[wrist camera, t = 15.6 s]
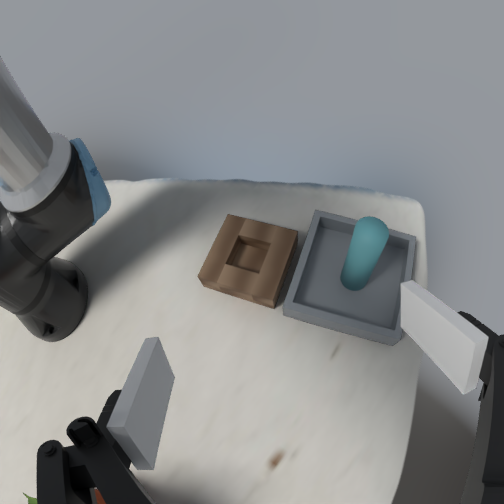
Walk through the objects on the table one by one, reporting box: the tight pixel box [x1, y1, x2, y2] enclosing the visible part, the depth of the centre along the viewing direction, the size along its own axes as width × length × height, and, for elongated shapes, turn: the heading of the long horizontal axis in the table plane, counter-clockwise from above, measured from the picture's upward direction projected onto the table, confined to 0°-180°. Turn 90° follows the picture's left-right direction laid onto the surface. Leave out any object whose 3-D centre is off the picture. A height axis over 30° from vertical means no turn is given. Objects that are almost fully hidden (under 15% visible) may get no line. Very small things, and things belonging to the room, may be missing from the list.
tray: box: [283, 210, 416, 346], centre depth 42 cm, size 16×16×4 cm
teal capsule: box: [340, 217, 389, 291], centre depth 38 cm, size 4×4×12 cm
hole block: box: [198, 214, 298, 309], centre depth 45 cm, size 11×11×4 cm
